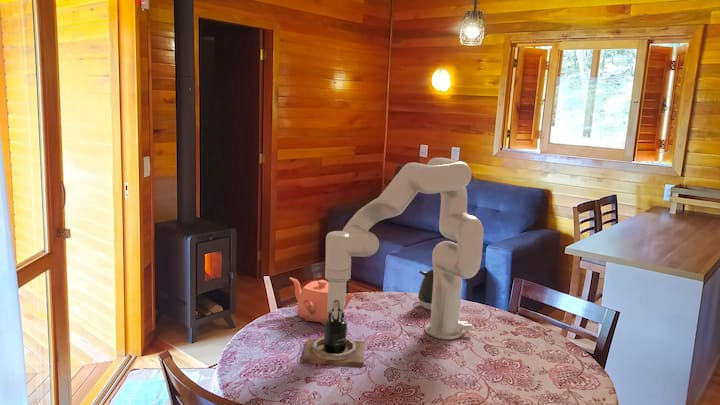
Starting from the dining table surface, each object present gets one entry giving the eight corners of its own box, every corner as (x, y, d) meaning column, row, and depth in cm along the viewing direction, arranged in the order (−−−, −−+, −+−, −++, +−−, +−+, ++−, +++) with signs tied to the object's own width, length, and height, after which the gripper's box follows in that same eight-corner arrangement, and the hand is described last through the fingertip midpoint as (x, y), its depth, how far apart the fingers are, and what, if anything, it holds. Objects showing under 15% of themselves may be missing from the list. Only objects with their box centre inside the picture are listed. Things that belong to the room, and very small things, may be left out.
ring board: (364, 344, 170) (364, 336, 170) (363, 366, 157) (363, 357, 156) (307, 341, 171) (307, 334, 170) (302, 362, 157) (302, 354, 156)
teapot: (288, 311, 194) (289, 275, 192) (335, 305, 202) (337, 270, 199) (303, 331, 178) (304, 292, 176) (354, 325, 185) (356, 286, 183)
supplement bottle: (342, 356, 160) (344, 318, 158) (320, 352, 161) (322, 315, 159) (348, 346, 166) (349, 309, 164) (326, 343, 168) (328, 307, 166)
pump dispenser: (416, 301, 210) (419, 264, 207) (443, 303, 209) (446, 266, 206) (416, 311, 200) (419, 272, 197) (445, 313, 199) (448, 274, 196)
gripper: (327, 263, 168) (326, 314, 171) (322, 282, 151) (322, 339, 154) (351, 264, 167) (350, 315, 171) (349, 283, 150) (348, 340, 154)
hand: (337, 326), depth 162 cm, fingers open, 9 cm apart
